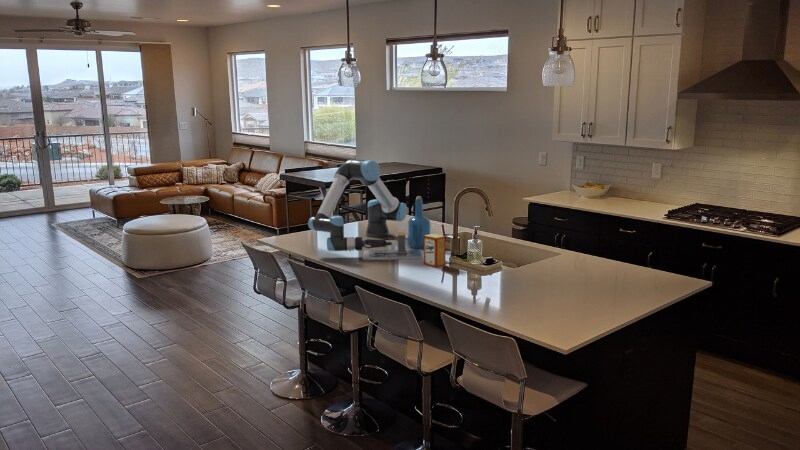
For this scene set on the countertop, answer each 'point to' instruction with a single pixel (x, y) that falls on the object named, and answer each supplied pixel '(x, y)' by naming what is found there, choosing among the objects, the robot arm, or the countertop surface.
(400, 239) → the breaker handle
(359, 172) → the robot arm
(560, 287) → the countertop surface
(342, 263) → the countertop surface
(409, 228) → the wine bottle
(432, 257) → the baking soda box
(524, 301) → the countertop surface
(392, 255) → the panel
